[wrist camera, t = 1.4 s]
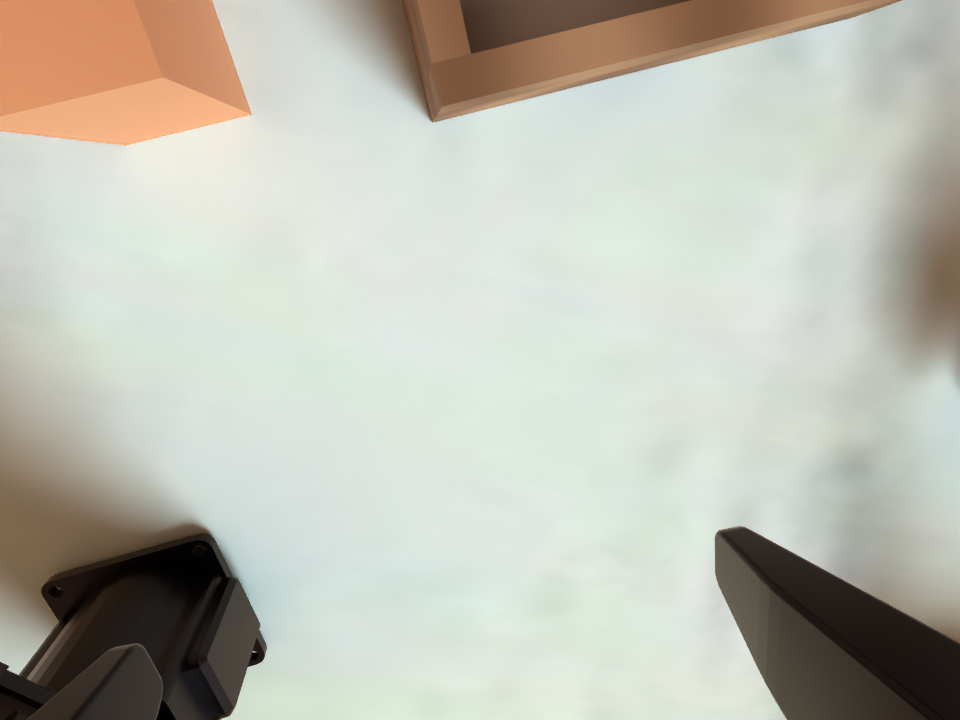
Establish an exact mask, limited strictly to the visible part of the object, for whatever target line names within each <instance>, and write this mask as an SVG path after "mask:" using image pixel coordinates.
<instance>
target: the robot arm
mask: <svg viewBox="0 0 960 720" xmlns="http://www.w3.org/2000/svg"><path fill="white" fill-rule="evenodd" d="M198 545H201V546H204V547H205V548H206V550H201V549H198V548H197V547H196V546H198ZM715 574H716V578H717V582H718V585H719V587H720V589H721V592H722V594H723V596H724V598H725V600H726V602H727V604H728V606H729V608H730V610H731V613H732V615H733V617H734V619H735V621H736V623H737V625H738V627H739V629H740V631H741V634H742V636H743V638H744V640H745V642H746V644H747V646H748V648H749V650H750V652H751V655H752V657H753V659H754V661H755V663H756V665H757V667H758V669H759V671H760V673H761V675H762V677H763V679H764V681H765V683H766V685H767V687H768V688H769V690H770V692H771V694H772V695H773V697H774V699H775V701H776V702H777V704H778V706H779V707H780V709H781V711H782V712H783V714H784V716H785V717H786V719H787V720H960V643H959V642H957V641H955V640H953V639H951V638H950V637H948V636H946V635H944V634H942V633H940V632H939V631H937V630H935V629H933V628H931V627H929V626H927V625H926V624H924V623H922V622H920V621H918V620H916V619H914V618H913V617H911V616H909V615H907V614H905V613H903V612H901V611H900V610H898V609H896V608H894V607H892V606H890V605H889V604H887V603H885V602H883V601H881V600H879V599H877V598H876V597H874V596H872V595H870V594H868V593H866V592H864V591H863V590H861V589H859V588H857V587H855V586H853V585H852V584H850V583H848V582H846V581H844V580H842V579H840V578H839V577H837V576H835V575H833V574H831V573H829V572H827V571H826V570H824V569H822V568H820V567H818V566H816V565H815V564H813V563H811V562H809V561H807V560H805V559H803V558H802V557H800V556H798V555H796V554H794V553H792V552H790V551H789V550H787V549H785V548H783V547H781V546H779V545H777V544H776V543H774V542H772V541H770V540H768V539H766V538H765V537H763V536H761V535H759V534H757V533H755V532H753V531H752V530H750V529H748V528H746V527H742V526H738V527H733V528H728V529H722V530H719V531H718V532H717V533H716V535H715ZM56 586H57V587H60V588H61V589H62V590H59V589H57V588H56ZM41 592H42V595H43V597H44V599H45V600H46V602H47V603H48V605H49V606H50V608H51V609H52V611H53V612H54V614H55V616H56V617H57V619H58V620H59V623H58V624H57V625H56V627H55V628H54V629H53V631H52V632H51V633H50V635H49V636H48V637H47V639H46V640H45V641H44V642H43V644H42V645H41V646H40V648H39V649H38V650H37V652H36V653H35V654H34V656H33V657H32V658H31V660H30V661H29V662H28V664H27V665H26V666H25V668H24V669H23V670H22V671H21V673H20V674H19V675H17V674H15V673H13V672H10V671H8V670H7V669H8V667H9V666H8V665H6V664H3V663H1V662H0V720H221V718H224V717H228V716H230V715H231V713H232V712H233V710H234V708H235V706H236V703H237V700H238V696H239V693H240V690H241V687H242V683H243V680H244V677H245V674H246V670H247V667H249V666H253V665H256V664H258V663H260V662H262V660H263V659H264V657H265V653H266V650H267V646H266V643H265V641H264V639H263V637H262V635H261V633H260V631H259V628H260V623H259V621H258V618H257V616H256V614H255V612H254V610H253V608H252V606H251V604H250V602H249V600H248V598H247V596H246V594H245V592H244V590H243V588H242V586H241V584H240V581H239V580H238V579H237V578H235V577H234V576H232V574H231V572H230V570H229V568H228V566H227V563H226V561H225V559H224V557H223V555H222V553H221V551H220V549H219V547H218V545H217V543H216V541H215V540H214V538H213V537H211V536H210V535H207V534H197V535H193V536H190V537H186V538H183V539H179V540H175V541H172V542H168V543H165V544H161V545H158V546H154V547H151V548H147V549H144V550H140V551H137V552H133V553H130V554H126V555H123V556H119V557H116V558H112V559H109V560H105V561H102V562H98V563H95V564H91V565H88V566H84V567H81V568H77V569H74V570H70V571H67V572H63V573H60V574H56V575H54V576H52V577H51V578H50V579H49V580H48V581H47V582H46V583H45V584H44V586H43V587H42V590H41ZM252 651H256V653H253V652H252Z"/></svg>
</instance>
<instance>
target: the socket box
mask: <svg viewBox="0 0 960 720" xmlns="http://www.w3.org/2000/svg"><path fill="white" fill-rule="evenodd" d="M899 1H901V0H402V2H403V6H404V10H405V14H406V18H407V22H408V26H409V30H410V34H411V39H412V43H413V47H414V51H415V55H416V59H417V63H418V67H419V71H420V75H421V79H422V83H423V87H424V91H425V95H426V99H427V103H428V107H429V111H430V115H431V119H432V122H436V121H440V120H444V119H448V118H452V117H456V116H460V115H464V114H468V113H472V112H476V111H480V110H484V109H488V108H492V107H496V106H500V105H504V104H508V103H512V102H516V101H520V100H524V99H528V98H532V97H536V96H540V95H544V94H548V93H552V92H556V91H560V90H564V89H568V88H572V87H576V86H580V85H584V84H588V83H592V82H596V81H600V80H604V79H608V78H612V77H616V76H620V75H624V74H628V73H632V72H636V71H640V70H644V69H648V68H652V67H656V66H660V65H664V64H668V63H672V62H676V61H680V60H684V59H688V58H692V57H696V56H700V55H704V54H708V53H712V52H716V51H720V50H724V49H728V48H732V47H736V46H740V45H744V44H748V43H752V42H756V41H760V40H764V39H768V38H772V37H776V36H780V35H784V34H788V33H792V32H796V31H800V30H804V29H808V28H812V27H816V26H820V25H824V24H828V23H832V22H836V21H840V20H844V19H848V18H852V17H855V16H858V15H861V14H864V13H867V12H870V11H873V10H876V9H878V8H881V7H884V6H887V5H890V4H893V3H896V2H899Z"/></svg>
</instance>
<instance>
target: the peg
mask: <svg viewBox="0 0 960 720" xmlns="http://www.w3.org/2000/svg"><path fill="white" fill-rule="evenodd" d="M248 115H252V114H251V111H250V108H249V105H248V102H247V100H246V97H245V94H244V91H243V88H242V85H241V82H240V80H239V77H238V74H237V71H236V68H235V65H234V62H233V59H232V57H231V54H230V51H229V48H228V45H227V42H226V39H225V37H224V34H223V31H222V28H221V25H220V22H219V19H218V17H217V14H216V11H215V8H214V5H213V2H212V0H0V131H3V132H12V133H21V134H30V135H38V136H47V137H56V138H65V139H74V140H83V141H91V142H100V143H109V144H118V145H129V144H134V143H138V142H142V141H146V140H150V139H154V138H158V137H162V136H166V135H170V134H174V133H178V132H183V131H187V130H191V129H195V128H199V127H203V126H207V125H211V124H215V123H219V122H223V121H227V120H232V119H236V118H240V117H244V116H248Z"/></svg>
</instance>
